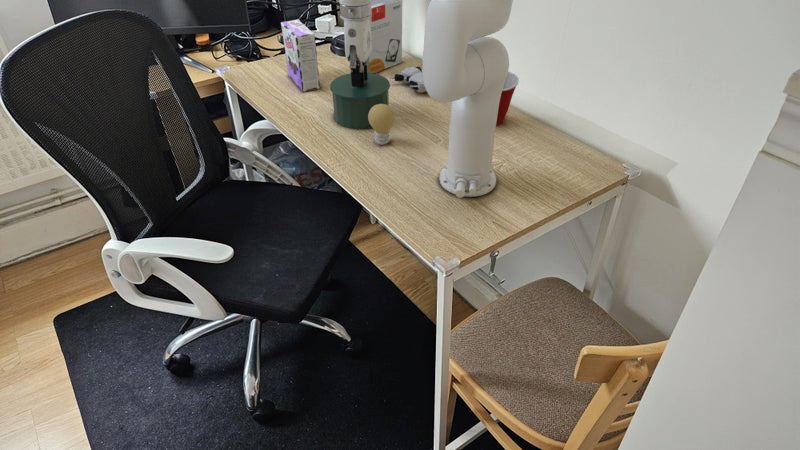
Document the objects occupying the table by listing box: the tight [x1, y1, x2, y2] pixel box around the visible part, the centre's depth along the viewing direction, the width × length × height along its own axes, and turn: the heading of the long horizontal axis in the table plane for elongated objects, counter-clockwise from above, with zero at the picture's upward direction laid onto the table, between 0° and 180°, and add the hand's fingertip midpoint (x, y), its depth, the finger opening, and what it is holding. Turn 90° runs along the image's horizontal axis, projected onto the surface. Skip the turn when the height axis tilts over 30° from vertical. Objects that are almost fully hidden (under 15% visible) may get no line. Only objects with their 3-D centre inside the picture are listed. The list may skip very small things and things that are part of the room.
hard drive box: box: [366, 0, 403, 74], centre depth 160 cm, size 16×8×20 cm, turn 136°
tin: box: [331, 90, 390, 130], centre depth 137 cm, size 15×15×8 cm
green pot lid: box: [329, 64, 391, 100], centre depth 133 cm, size 16×16×6 cm
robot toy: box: [389, 66, 427, 94], centre depth 153 cm, size 12×4×15 cm
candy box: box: [280, 18, 321, 92], centre depth 152 cm, size 14×6×16 cm, turn 27°
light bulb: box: [368, 104, 395, 146], centre depth 126 cm, size 6×6×10 cm
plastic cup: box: [496, 71, 520, 127], centre depth 133 cm, size 11×11×12 cm
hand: (359, 82), depth 134 cm, fingers open, 3 cm apart
